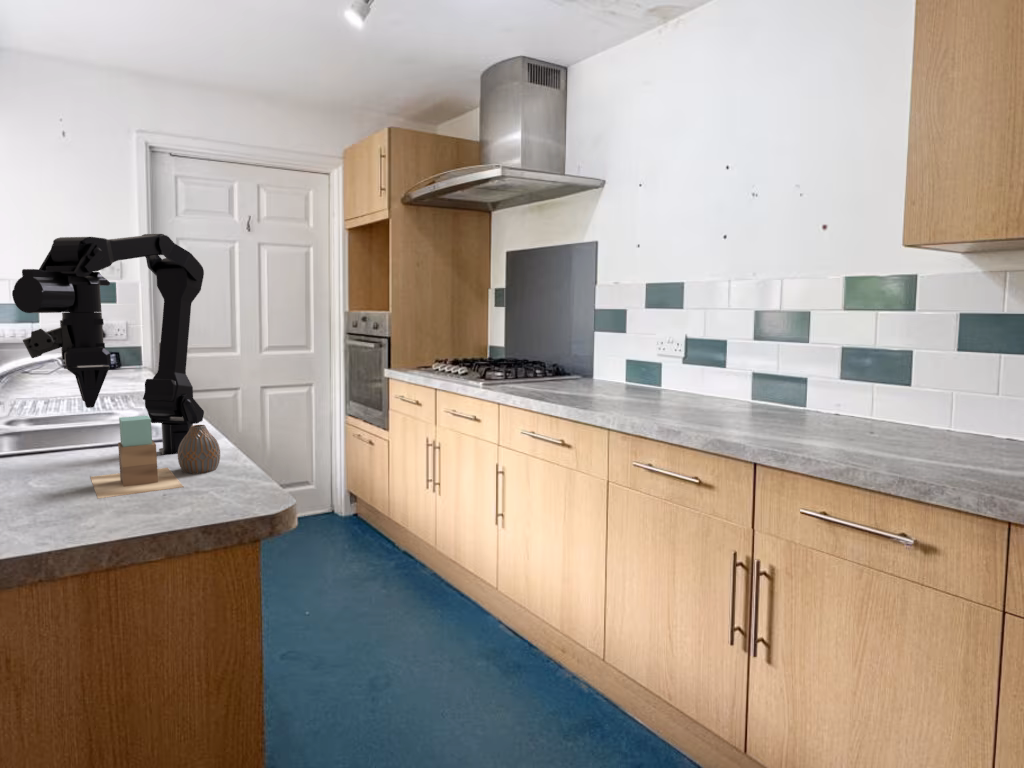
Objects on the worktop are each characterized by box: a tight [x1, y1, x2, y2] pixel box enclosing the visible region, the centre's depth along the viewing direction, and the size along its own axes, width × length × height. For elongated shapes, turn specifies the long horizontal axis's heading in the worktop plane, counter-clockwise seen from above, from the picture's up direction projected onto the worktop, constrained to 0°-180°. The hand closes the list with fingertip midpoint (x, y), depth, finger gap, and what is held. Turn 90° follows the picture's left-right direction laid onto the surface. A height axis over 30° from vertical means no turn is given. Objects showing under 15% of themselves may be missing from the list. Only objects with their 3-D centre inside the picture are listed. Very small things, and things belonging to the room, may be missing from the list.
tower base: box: [118, 461, 158, 487], centre depth 117 cm, size 5×5×3 cm
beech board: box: [90, 467, 185, 500], centre depth 117 cm, size 16×12×1 cm
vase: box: [177, 424, 221, 475], centre depth 125 cm, size 7×7×9 cm
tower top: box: [117, 439, 158, 467], centre depth 116 cm, size 5×5×3 cm
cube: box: [118, 415, 153, 447], centre depth 116 cm, size 4×4×4 cm
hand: (88, 404), depth 120 cm, fingers open, 9 cm apart
